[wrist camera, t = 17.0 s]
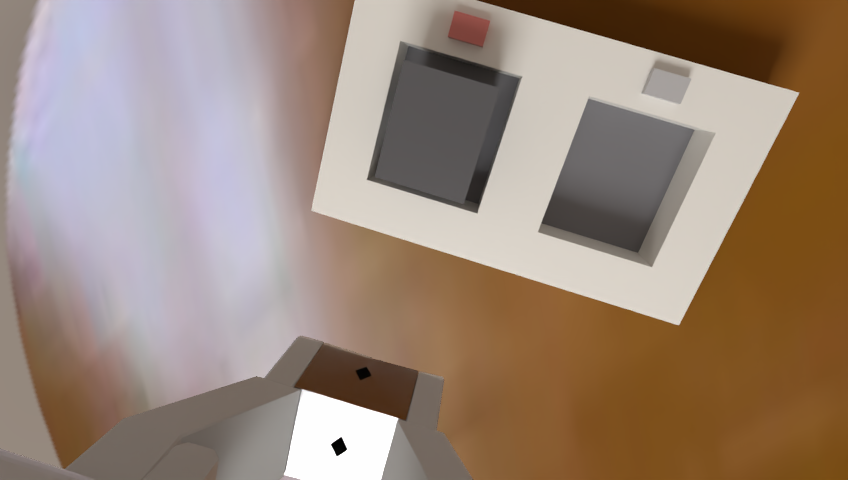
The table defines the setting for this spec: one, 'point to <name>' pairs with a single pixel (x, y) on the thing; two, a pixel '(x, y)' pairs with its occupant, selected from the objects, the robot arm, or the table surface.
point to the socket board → (556, 151)
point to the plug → (435, 131)
